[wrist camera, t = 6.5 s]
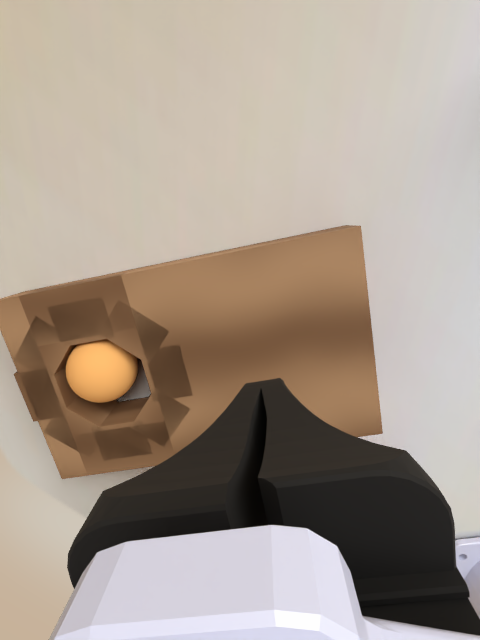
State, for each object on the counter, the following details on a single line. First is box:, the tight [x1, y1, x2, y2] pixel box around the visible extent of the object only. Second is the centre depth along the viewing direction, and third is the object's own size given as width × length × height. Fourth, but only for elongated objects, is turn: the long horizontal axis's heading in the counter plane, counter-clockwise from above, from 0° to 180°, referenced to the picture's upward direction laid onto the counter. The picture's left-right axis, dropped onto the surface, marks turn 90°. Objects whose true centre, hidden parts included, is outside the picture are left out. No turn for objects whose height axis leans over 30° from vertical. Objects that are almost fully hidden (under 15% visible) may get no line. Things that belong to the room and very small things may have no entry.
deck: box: [0, 225, 383, 479], centre depth 17 cm, size 10×17×2 cm, turn 102°
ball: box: [66, 339, 138, 403], centre depth 17 cm, size 3×3×3 cm
